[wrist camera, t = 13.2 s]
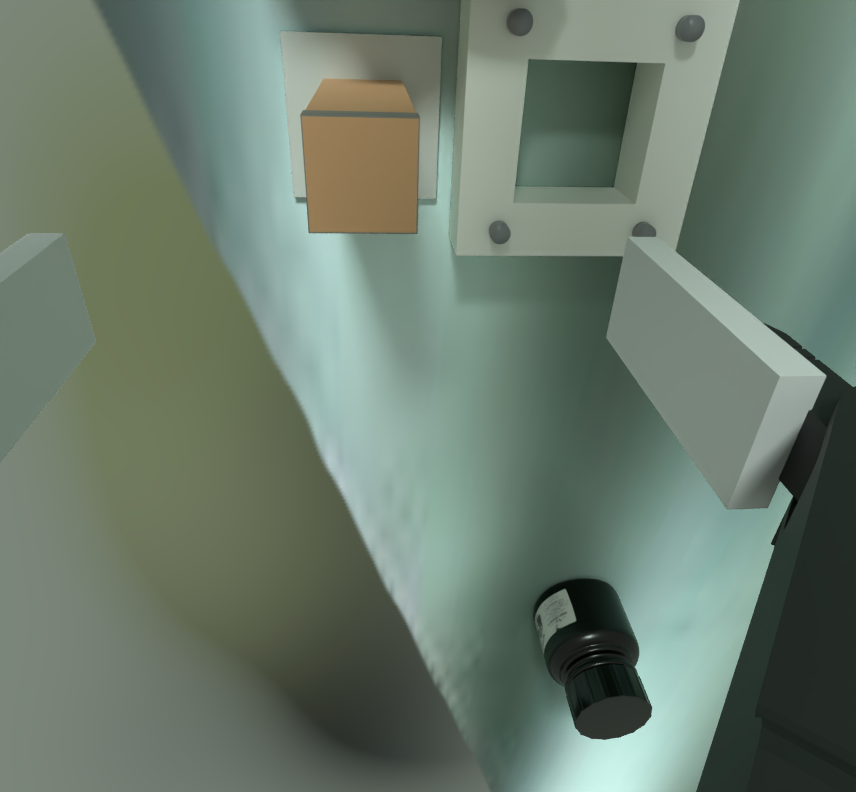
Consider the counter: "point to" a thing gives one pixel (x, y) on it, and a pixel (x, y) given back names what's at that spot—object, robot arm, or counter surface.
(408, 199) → the plug
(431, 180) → the mat
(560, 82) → the counter surface
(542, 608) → the ink bottle
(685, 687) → the counter surface
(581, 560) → the counter surface
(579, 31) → the frame
